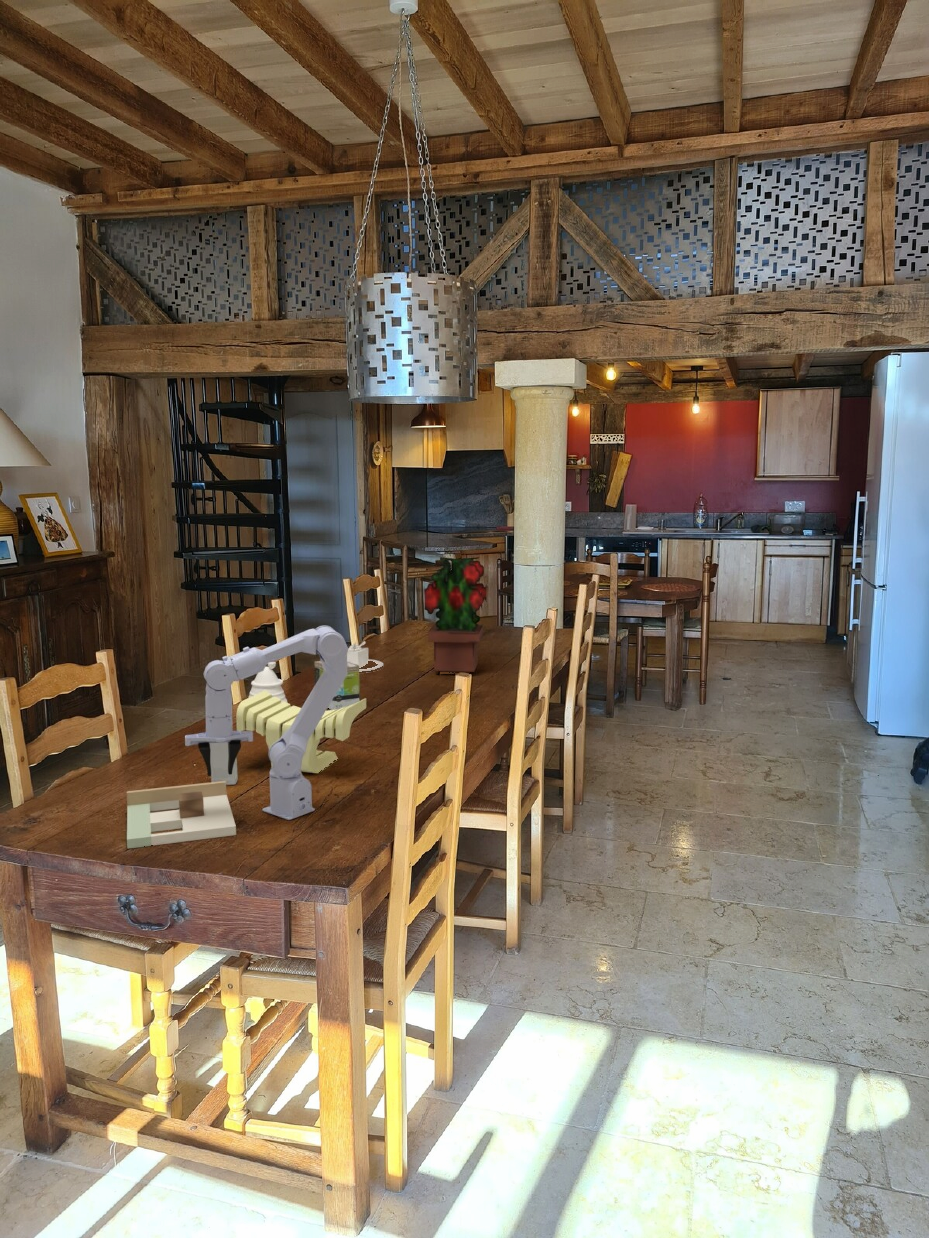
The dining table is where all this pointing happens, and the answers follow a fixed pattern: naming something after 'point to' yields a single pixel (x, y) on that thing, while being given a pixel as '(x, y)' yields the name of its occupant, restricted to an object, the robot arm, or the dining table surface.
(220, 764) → the skincare box
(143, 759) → the dining table surface
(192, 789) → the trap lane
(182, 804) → the walnut block
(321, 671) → the tea box
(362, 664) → the white block with ring
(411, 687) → the dining table surface
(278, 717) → the slatted curved stool
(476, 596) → the potted plant
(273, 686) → the honey pot
